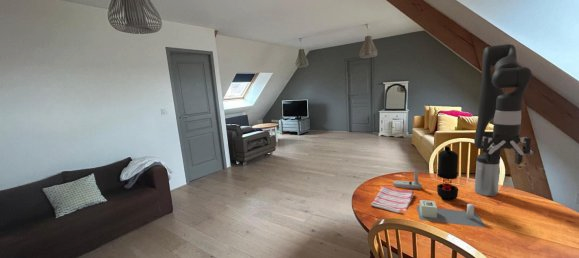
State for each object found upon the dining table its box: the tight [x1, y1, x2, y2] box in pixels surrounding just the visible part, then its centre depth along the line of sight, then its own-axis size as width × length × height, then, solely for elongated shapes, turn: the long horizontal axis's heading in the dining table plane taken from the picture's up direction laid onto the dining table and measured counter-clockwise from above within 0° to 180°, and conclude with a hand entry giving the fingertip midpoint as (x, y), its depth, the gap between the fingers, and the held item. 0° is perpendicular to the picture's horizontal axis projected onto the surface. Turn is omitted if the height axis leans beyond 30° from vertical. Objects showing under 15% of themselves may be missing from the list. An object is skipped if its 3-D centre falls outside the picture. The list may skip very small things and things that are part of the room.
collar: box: [419, 199, 438, 218], centre depth 108 cm, size 6×6×5 cm
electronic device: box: [392, 171, 422, 190], centre depth 139 cm, size 5×10×15 cm
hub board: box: [415, 199, 488, 228], centre depth 105 cm, size 24×12×8 cm, turn 69°
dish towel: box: [370, 185, 414, 215], centre depth 125 cm, size 17×23×4 cm
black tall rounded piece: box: [436, 146, 459, 201], centre depth 118 cm, size 14×9×30 cm
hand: (503, 163), depth 92 cm, fingers open, 8 cm apart
